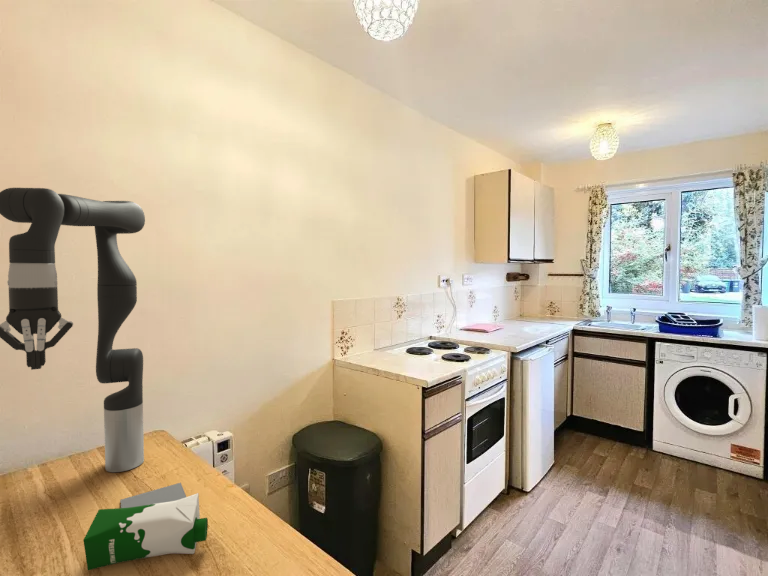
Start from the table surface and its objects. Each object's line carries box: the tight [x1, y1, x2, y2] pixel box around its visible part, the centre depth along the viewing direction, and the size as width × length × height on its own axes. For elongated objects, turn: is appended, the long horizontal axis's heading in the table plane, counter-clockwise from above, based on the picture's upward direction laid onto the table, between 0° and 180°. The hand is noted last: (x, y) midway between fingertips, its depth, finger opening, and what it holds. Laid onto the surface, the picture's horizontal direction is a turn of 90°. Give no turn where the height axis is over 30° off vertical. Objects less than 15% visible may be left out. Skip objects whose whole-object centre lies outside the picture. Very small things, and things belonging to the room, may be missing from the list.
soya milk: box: [83, 492, 209, 571], centre depth 77 cm, size 9×9×20 cm
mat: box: [119, 482, 187, 508], centre depth 89 cm, size 20×13×1 cm, turn 36°
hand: (36, 368), depth 81 cm, fingers closed
